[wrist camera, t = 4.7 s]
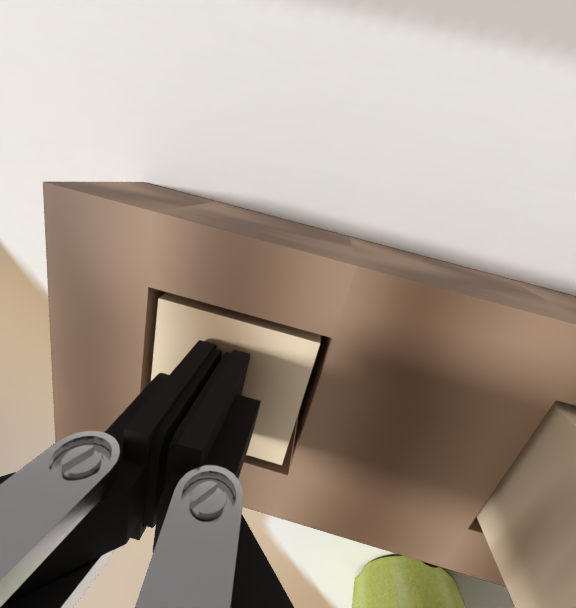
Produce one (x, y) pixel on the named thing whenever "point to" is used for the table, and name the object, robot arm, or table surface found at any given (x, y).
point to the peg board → (319, 358)
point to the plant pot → (404, 585)
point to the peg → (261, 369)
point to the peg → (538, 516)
